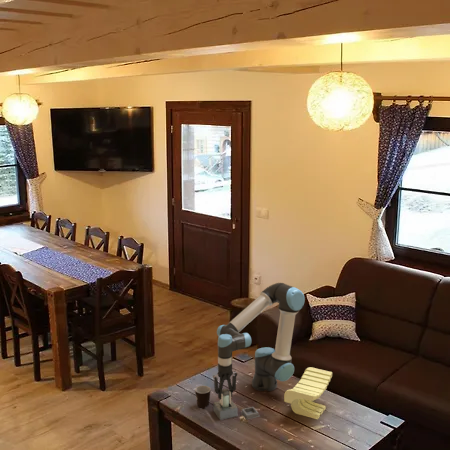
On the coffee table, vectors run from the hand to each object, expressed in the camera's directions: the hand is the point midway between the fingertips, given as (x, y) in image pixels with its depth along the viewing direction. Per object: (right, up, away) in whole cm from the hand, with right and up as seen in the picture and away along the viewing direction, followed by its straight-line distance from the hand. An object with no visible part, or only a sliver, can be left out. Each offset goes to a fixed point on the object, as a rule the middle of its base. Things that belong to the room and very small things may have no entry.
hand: (225, 403), depth 306 cm
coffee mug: (-12, -5, +13) cm, 18 cm away
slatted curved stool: (+46, -6, +6) cm, 46 cm away
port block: (0, -7, +2) cm, 7 cm away
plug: (0, -5, +1) cm, 5 cm away
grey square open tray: (+13, -7, +1) cm, 15 cm away
